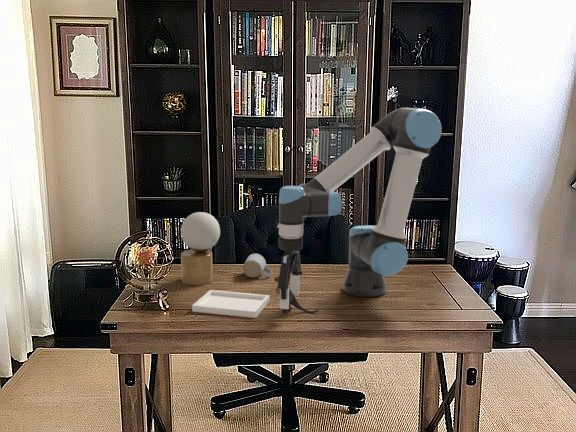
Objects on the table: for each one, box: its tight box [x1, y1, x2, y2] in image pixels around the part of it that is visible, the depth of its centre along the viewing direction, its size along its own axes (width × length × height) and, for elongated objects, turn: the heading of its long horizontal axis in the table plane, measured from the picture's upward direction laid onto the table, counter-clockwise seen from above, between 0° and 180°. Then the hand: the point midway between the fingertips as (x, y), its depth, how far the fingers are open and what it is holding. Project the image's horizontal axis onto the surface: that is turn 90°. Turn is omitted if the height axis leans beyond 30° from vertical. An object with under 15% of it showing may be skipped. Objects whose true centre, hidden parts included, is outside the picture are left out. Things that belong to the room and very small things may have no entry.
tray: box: [191, 289, 271, 319], centre depth 207 cm, size 21×16×2 cm
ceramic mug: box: [242, 253, 273, 279], centre depth 239 cm, size 11×8×8 cm
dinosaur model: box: [273, 275, 320, 315], centre depth 201 cm, size 4×12×15 cm
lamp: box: [180, 211, 221, 286], centre depth 232 cm, size 15×14×25 cm
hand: (289, 301), depth 202 cm, fingers open, 13 cm apart
